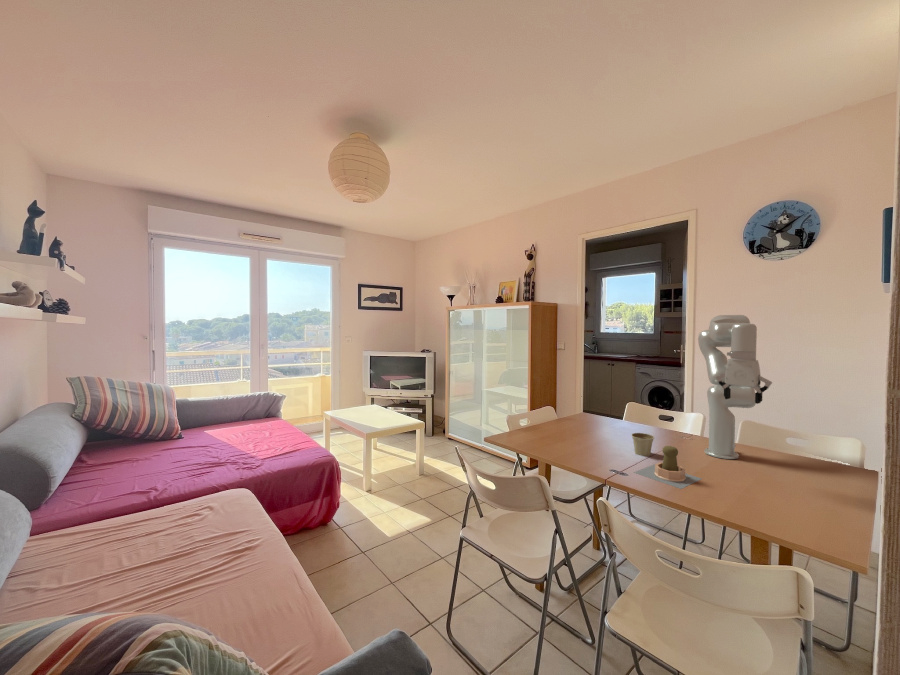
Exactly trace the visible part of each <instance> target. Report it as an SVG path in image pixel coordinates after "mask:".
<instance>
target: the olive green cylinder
mask: <svg viewBox="0 0 900 675" xmlns="http://www.w3.org/2000/svg"><path fill="white" fill-rule="evenodd" d="M662 453H663V460H662V463H663V465H662V469H665V470H668V471H678V460H677V456H678V455H679V450H678V448H677V447H675V446H672V445H665V446H663V447H662Z"/></svg>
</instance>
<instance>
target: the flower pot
mask: <svg viewBox="0 0 900 675" xmlns="http://www.w3.org/2000/svg"><path fill="white" fill-rule="evenodd" d="M630 437H632V440H633V446H634V447H633V448H634V455H638V456H641V457H649V456H651V453H652V452H651V451H652V447H653V442H654V439H655V436H654V435H652V434H649V433H644V432H635V433H631V435H630Z"/></svg>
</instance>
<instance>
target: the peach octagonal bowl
mask: <svg viewBox="0 0 900 675" xmlns="http://www.w3.org/2000/svg"><path fill="white" fill-rule="evenodd" d="M662 465H663V462H657V463H655V476H656V477H658V478H660V479H663V480H666V481H671V482H683V481H685V479H686V478H685V473H686V469H685V468H684V467H683V466H681V465H678V464H677V465H678V471H668V470H665V469H662Z"/></svg>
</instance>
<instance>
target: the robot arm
mask: <svg viewBox="0 0 900 675" xmlns="http://www.w3.org/2000/svg"><path fill="white" fill-rule="evenodd" d="M757 330H758V329H757V325H756V324H754V323H751V321H750V319H749V317H748V316H746V315H744V314H723V315H722V314H720V315H716V316H714V317H713V318H711V320H710V321H709V326H708V329H705V330H703V331H702V330H701V332H699V333H698V338H697V340H698V346H699V350H700V352H701V354H702V356H703V358H704V360H705V364H706V371H707V377H708V380H709V382H710V383H711V384H713V385H712V386H709V387H708V389H707V391H706V394H707V402H708V403H707V404H708V412H709V413H708V415H709V416H708V417H709V420H708V447H706V448H704V453H705V454H706V455H708V456H710V457H714V458H717V459H725V460H736V459H737V460H738V459H739V457H740V454H739V453H738V452H737V451H735V448H736V446H737V444H736V441H735V440H736V437H735V436H736V418H735V415H734V414H733V412H732V411H731V410H730V408H739V409H740V408H741V409H751V408H754V407H755V406H756V405H758V404H761V402H763V393H764V392H765V391H766V390H768V389H769V388H770V387H771V385H772V384H773V382H772V380H769V379H767V378H765V377H763V376H762V375H761V368H760V363H759V359H757V339H758V338H757V337H758V336H757V335H758V334H757ZM718 348H730V351H729V352H728V351H727V352H726V354H725V353H724V352H723V351H721V350H720V349H718ZM727 356H728V357H730V358H729V359H728V357H727ZM761 382H762V383H764V385H763V386H761Z"/></svg>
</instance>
